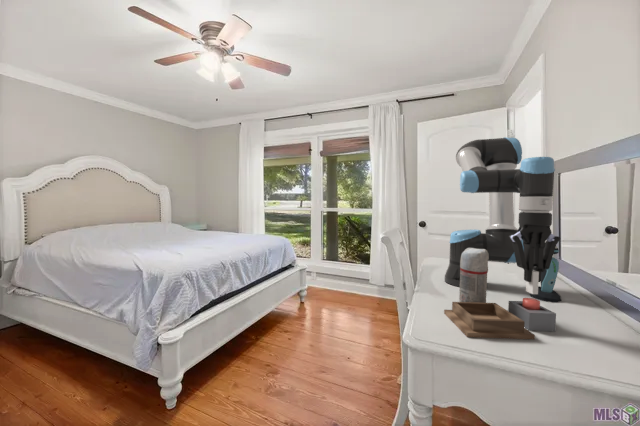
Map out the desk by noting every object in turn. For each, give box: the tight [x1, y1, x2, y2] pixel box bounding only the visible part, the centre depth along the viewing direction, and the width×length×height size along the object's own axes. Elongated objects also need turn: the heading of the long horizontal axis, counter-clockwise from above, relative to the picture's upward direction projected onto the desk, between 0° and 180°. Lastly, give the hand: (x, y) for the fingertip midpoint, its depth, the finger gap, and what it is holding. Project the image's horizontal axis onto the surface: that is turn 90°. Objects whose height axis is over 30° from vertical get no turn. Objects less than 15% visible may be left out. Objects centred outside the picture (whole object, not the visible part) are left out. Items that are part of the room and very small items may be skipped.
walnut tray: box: [443, 301, 536, 340], centre depth 78 cm, size 15×17×4 cm
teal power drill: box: [529, 246, 562, 303], centre depth 101 cm, size 9×12×20 cm
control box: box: [507, 300, 557, 332], centre depth 79 cm, size 9×7×5 cm
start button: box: [522, 297, 541, 310], centre depth 79 cm, size 4×4×2 cm
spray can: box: [458, 248, 489, 303], centre depth 90 cm, size 8×8×20 cm
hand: (531, 292), depth 78 cm, fingers closed
